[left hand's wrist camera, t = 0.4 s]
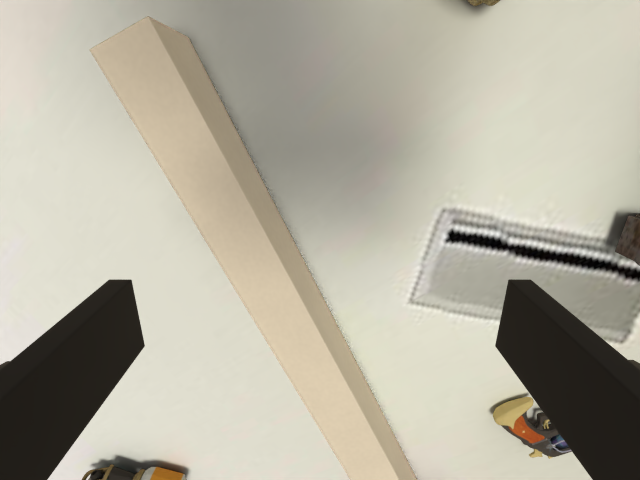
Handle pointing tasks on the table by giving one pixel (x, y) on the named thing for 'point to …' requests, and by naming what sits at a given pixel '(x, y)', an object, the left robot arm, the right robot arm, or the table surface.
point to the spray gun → (112, 476)
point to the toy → (630, 239)
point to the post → (248, 238)
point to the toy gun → (530, 428)
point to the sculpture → (487, 0)
